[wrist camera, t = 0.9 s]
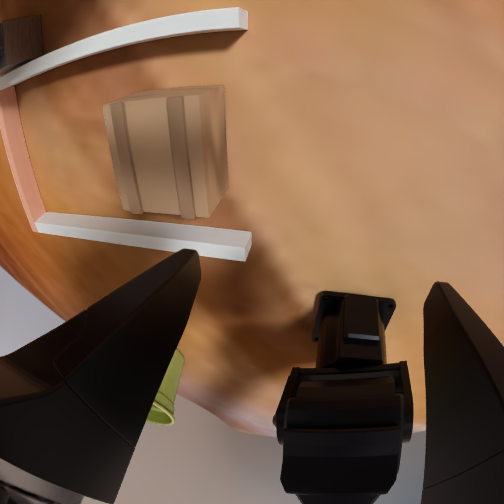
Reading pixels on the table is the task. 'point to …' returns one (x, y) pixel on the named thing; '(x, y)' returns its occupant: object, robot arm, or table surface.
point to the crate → (169, 150)
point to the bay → (107, 228)
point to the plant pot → (167, 393)
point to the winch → (20, 42)
